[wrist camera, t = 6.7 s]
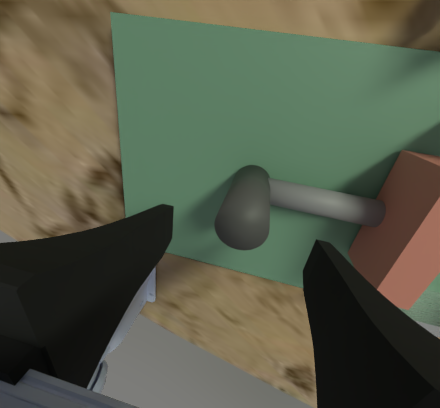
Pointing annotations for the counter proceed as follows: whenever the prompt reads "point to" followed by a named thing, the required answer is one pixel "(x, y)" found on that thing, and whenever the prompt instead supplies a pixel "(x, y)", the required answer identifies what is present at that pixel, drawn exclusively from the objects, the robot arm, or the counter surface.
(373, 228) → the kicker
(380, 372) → the robot arm
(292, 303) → the counter surface
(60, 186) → the counter surface
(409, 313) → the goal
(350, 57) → the board
